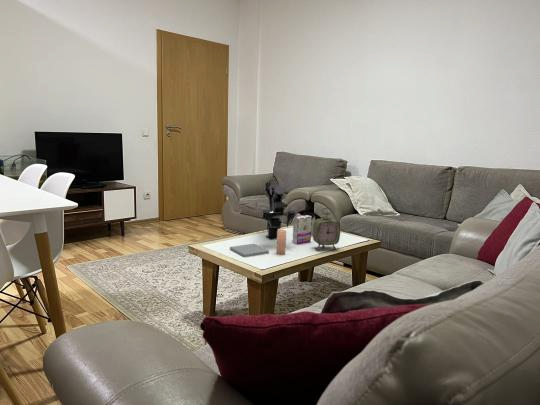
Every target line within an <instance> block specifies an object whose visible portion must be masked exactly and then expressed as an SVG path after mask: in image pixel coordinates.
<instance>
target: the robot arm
mask: <svg viewBox="0 0 540 405" xmlns="http://www.w3.org/2000/svg"><path fill="white" fill-rule="evenodd" d="M263 188H264V194H265V196H266V197H267V199H268V200H267V201H268V209H263V210H262V214H261V218H262V219H264V220H266V223H265V228H266V230H267V235H266V236H265V237H266V238H267V239H269V240H275V239H276V240H277V231H278V230H281V228H282V226H281V225H282V221H281V219H280V217H284V216H285V217H286V228H288V227H289V224H290V221H292V220H293V219H294V217H296V215H295V214H296V211H295V210H293V209H287V212H286V211H285V208H287V207H288V201H283V198H284V196H285V192H286V191H285V190H286V189H285V188H284V187H283V186H282V185H281V184H279V183H278V182H277V179H268V181H267V182H266V183H264V187H263ZM284 211H285V212H284Z"/></svg>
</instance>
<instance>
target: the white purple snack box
mask: <svg viewBox="0 0 540 405" xmlns="http://www.w3.org/2000/svg"><path fill="white" fill-rule="evenodd" d="M297 215H298V216H305V215H308V216H312V224H311V238H313V224H314V221H315V220H316V213H315V212H314V211H303V215H301V214H300V213H296V212H295V216H297Z"/></svg>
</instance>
